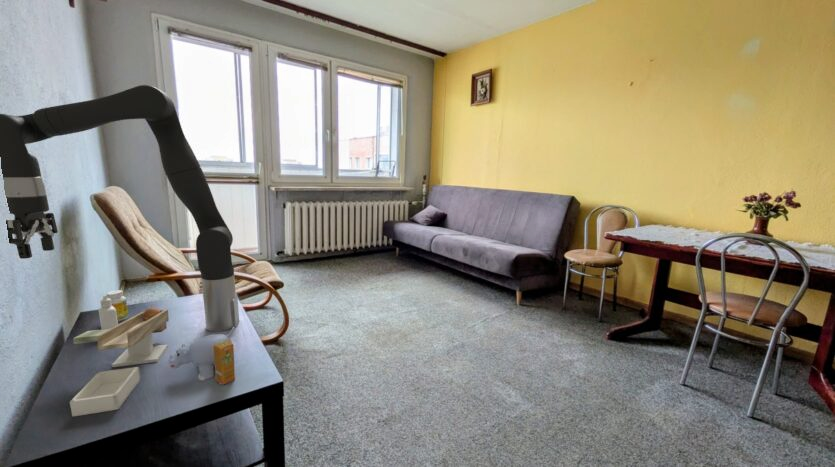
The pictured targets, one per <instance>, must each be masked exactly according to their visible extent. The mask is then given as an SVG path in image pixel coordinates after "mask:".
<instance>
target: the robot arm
mask: <svg viewBox="0 0 835 467" xmlns="http://www.w3.org/2000/svg"><path fill="white" fill-rule="evenodd" d="M139 119H140V120H143V119H144V120H145V122H146V123H147V124H148V126H149V128H150V130H151V131H152V134H153V135H154V137H155V140H156V142H157V145H158V149H159V154H160V160H161V164H162V168H163V171H164V173H165V174H164V175H165V176H166V178H167V180H168V182H169V184H170V187H171V188H172V190H173V192H174V193H175V195H176V196H177V198H178V199H179V201H181V202H182V204H183V205H184V206H185V207H186V208H187V210H188V211H189V212H190V214H191V215H192V217H193V220H194V221H195V224H196V226H197V229H198V232H199V234H198V235H197V236H196V239H195V240H196V241H195V251H196V258H197V265H198V269H199V272H200V276H201V286H202V287H201V288H202V299H203V300H202V301H203V307H204V308H203V310H204V317H205V319H204V320H205V328H206V330H207V331H210V332H223V331H227V330H230V329H232V328H233V327H234V328H237V326H238V323H239V321H240V313H239V311H240V310H239V302H238V301H239V300H238V293H237V292H236V281H235V268H234V265H233V262H232V249H231V246H232V245H233V241H234V240H233V234H232V232H231V230H230V229H229V227H228V225H227V224H226V221H225V220H224V218H223V216H222V215H221V213H220V211H219V209H218V207H217V205H216V202H215V199H214V196H213V193H212V190H211V188H210V186H209V184H208V183H209V182H208V180H207V178H206V176H205V173H204V171H203V168H202V167H201V164H200V162H199V161H198V159H197V157H196V154H195V153H194V150H193V149H192V147H191V145H190V143H189V141H188V140H187V138H186V135H185V134H184V131H183V128H182V125H181V122H180V119H179V117H178V112H177V110H176V106H175V103H174V102H173V100H172V98H171V97H170V96H169V95H168V94H167V93H166V92H164V91H163V90H161V89H159V88H157V87H156V86H153V85H148V84H140V85H137V86H134V87H132V88H131V87H130V88H128V89H125V90H122V91H119V92H116V93H113V94H111V95H107V96H103V97H99V98H95V99H89V100H84V101H79V102H73V103H66V104H60V105H54V106H49V107H43V108H39V109H37V110H35V111H34V112H33V113H29V114H24V115H11V114H5V113H0V157H1V169H2V174H3V180H4V190H5V195H6V198H7V203H8V207H9V211H10V213H9V214H10V215H13V216H14V218H13V219H6V224H7V230H8V238H9V243H10V244H11V245H15V246H16V250H17V254H18V256H19V259H23V260H24V259H30V258H32V257H33V254H32V248H31V244H30V241H31V238H32V237H34V236H35V234H36V233H37V234H38V235H39V237H40V242H41V248H42V250H43V251H46V252H47V251H49V252H50V251H51V252H52V251H54V250H55V244H54V241H53V237H54V235H55V234H58V231H59V230H58V226H57V223H56V218H55V215H54V213H52V212H49V211H50V205H49V200H48V197H47V191H46V186H45V182H44V181H43V178H42V173H41V168H40V163H39V160H38V158H37V157H36V156H35V155H33V154H30V153H29V151H28V148H27V145H29V144H34V143H38V142H42V141H45V140H48V139H52V138H54V137H58V136H59V137H61V136H64V135H65V136H66V135H70V134H76V133H81V132H86V131H89V130H92V129H96V128H98V127H101V126H104V125H107V124H109V123H114V122H119V121H124V120H125V121H126V120H139ZM13 237H14V238H13ZM10 244H9V245H10Z"/></svg>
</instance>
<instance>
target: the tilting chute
mask: <svg viewBox="0 0 835 467" xmlns="http://www.w3.org/2000/svg"><path fill="white" fill-rule="evenodd" d="M159 310H160V313H159V314H157V315H156V316H154V317H152V318H151V319H149V320H146V319H145V318H144V316H143V315H144V312H145V311H146V310H144V311H141V312H139V313H138V314H136V315H133V316H132V317H129V318H127V319H125V320H123V321H122V322H120V323H118V325H117V326H115V327H113V328H111V329H102V330H101V329H93V330H87V331H85V332H83V333H81V334H79V335H77V336H75V337H73V344H74V345H75V344H76V345H77V344H86V343H97V351H105V350H106V351H107V350H114V349H115V350H116V349H124V348H127V347H132V346H134V345H135V344H136V343H138V342H139V341H141V340H142V339H143V338H145V337H146V336H148V335H149V334H154V333H162V332H164V331H165V330H166V329H167V323H168V322H169V309H159Z"/></svg>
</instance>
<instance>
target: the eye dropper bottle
mask: <svg viewBox="0 0 835 467" xmlns="http://www.w3.org/2000/svg"><path fill="white" fill-rule="evenodd" d="M102 297H103V298H102V299H100V300H99V302H100V307H99V308H98V317H99V323H100V328H101V329H100V330H102V329H111V328H113V327H115V326H117V325H118V324H119V321H118V320H117V314H116V309H115V308H114V307H113V306H112V303H111V299H109V298H107V294H105V295H103V296H102Z"/></svg>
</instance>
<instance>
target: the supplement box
mask: <svg viewBox="0 0 835 467" xmlns="http://www.w3.org/2000/svg"><path fill="white" fill-rule="evenodd" d="M234 350H235V349H234V343H233V342H232V343H231V342H229V341H227V340H225V341H223V342H220V343H218V344H215V345H214V359H215V363H214V374H215V381H216V382H217V383H218V382H219V383H218V384H220V383H221V384H220V385H222V386H225V385H227V384H228V383H230V382H232V381H234V380H235V379H236V375H235V372H236V371H235V351H234ZM233 379H234V380H233ZM226 383H227V384H226ZM224 384H225V385H224Z"/></svg>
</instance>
